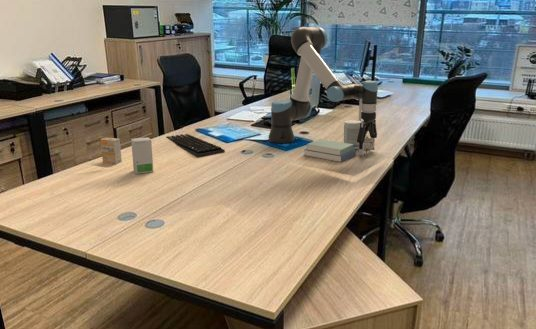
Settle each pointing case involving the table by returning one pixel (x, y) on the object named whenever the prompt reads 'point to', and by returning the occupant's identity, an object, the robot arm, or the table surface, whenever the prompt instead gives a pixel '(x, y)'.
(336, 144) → the book pile
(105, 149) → the supplement box
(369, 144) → the game die
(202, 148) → the computer keyboard
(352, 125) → the supplement tub
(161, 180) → the table surface
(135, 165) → the skincare box
